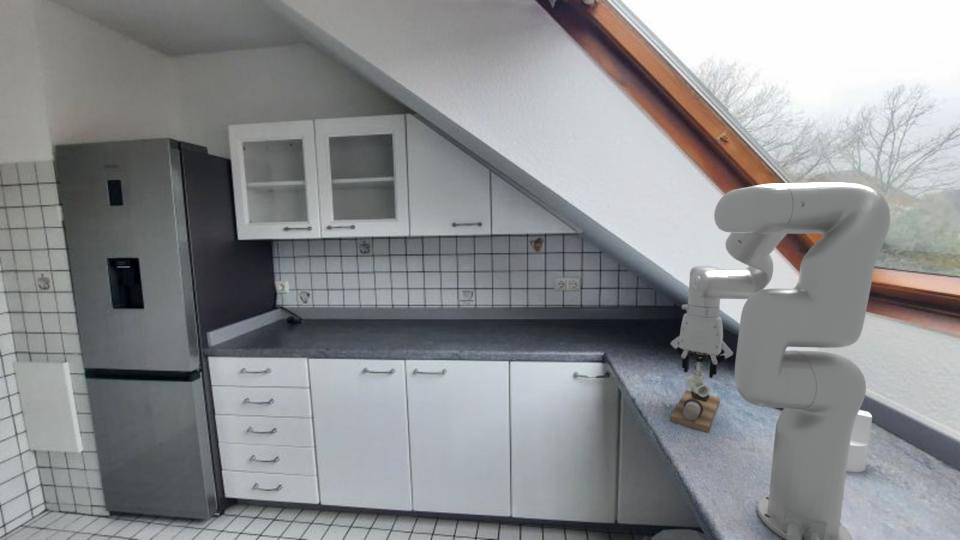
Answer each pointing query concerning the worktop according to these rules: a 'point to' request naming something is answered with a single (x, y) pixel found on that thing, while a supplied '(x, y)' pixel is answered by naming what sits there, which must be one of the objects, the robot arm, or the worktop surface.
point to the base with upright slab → (859, 442)
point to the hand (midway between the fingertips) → (698, 373)
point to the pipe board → (702, 418)
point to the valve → (698, 375)
